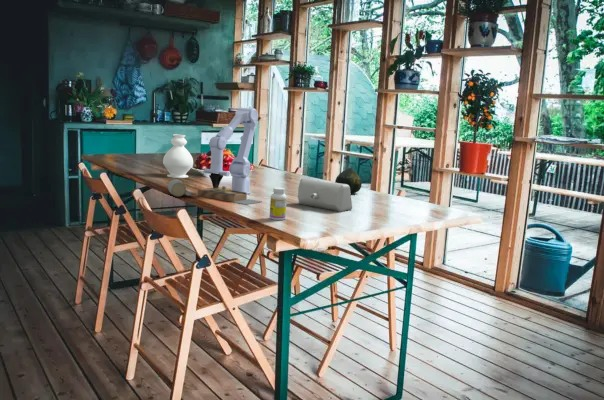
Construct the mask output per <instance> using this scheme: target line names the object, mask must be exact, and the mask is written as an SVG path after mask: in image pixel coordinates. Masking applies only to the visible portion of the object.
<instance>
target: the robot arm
mask: <svg viewBox="0 0 604 400" xmlns="http://www.w3.org/2000/svg"><path fill="white" fill-rule="evenodd" d="M234 114H235V115H234V116H233V118H232V119H231V121H230V122H229V124H228V125H224V126H222V127H221V129H220V131H219V132H218V133H217V134H216V135H215V136H212V137H211V138H210V139H209V142H208V145H209V147H210V168H204V169H203V174H209V175H208V177H209V179H210V181H211V184H212V188H213V189H214V188H217V187H220V183H221V181H222V179H223V178H224V177H230V174H231V189H232V190H234V191H240V192H246V193H247V195H248V194H252V192H251V191H250V187H251V181H250V177H249V175H250V173H251V162H250V161H249V155H250V150H251V147H252V142H253V140H254V136H255V132H256V127H257V124H258V119H259V116H260V115H259V113H258V111H257V109H256V108H248V107H238V108H237V110H235V113H234ZM239 125H242V126H244V130H243V133H242V137H241V140H240V144H239V148H238V152H237V155H236V157H234V158H233V159H232V160H231V161H232V162H231V163H230V165H229V168H228V171H225V170H223V163H224V161H223V160H224V157H223V156H224V149H225V148H226V146H227V143H228V141H229V139H231V137H232V136H233V134H234V130H235V129H236V128H237V127H238V126H239Z"/></svg>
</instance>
